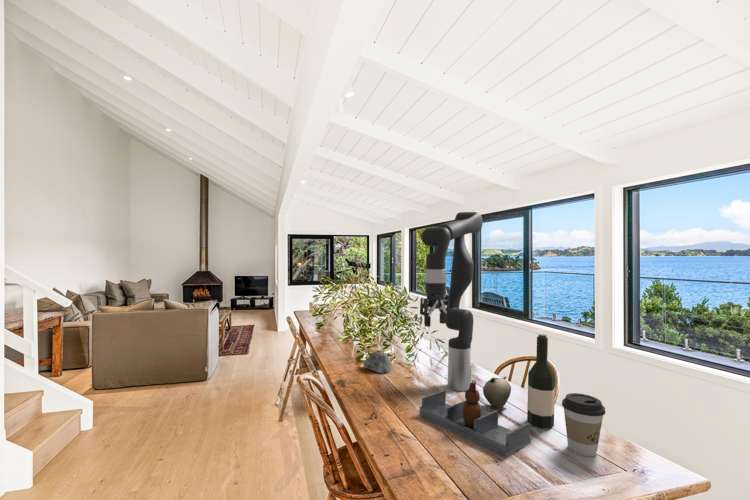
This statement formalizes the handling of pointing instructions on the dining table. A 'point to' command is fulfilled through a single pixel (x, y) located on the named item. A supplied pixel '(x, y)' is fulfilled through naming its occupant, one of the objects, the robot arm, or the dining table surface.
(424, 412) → the grey shelf
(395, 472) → the dining table surface
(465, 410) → the wooden figurine
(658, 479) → the dining table surface
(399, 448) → the dining table surface
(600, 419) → the coffee cup
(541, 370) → the wine bottle
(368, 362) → the mineral rock
